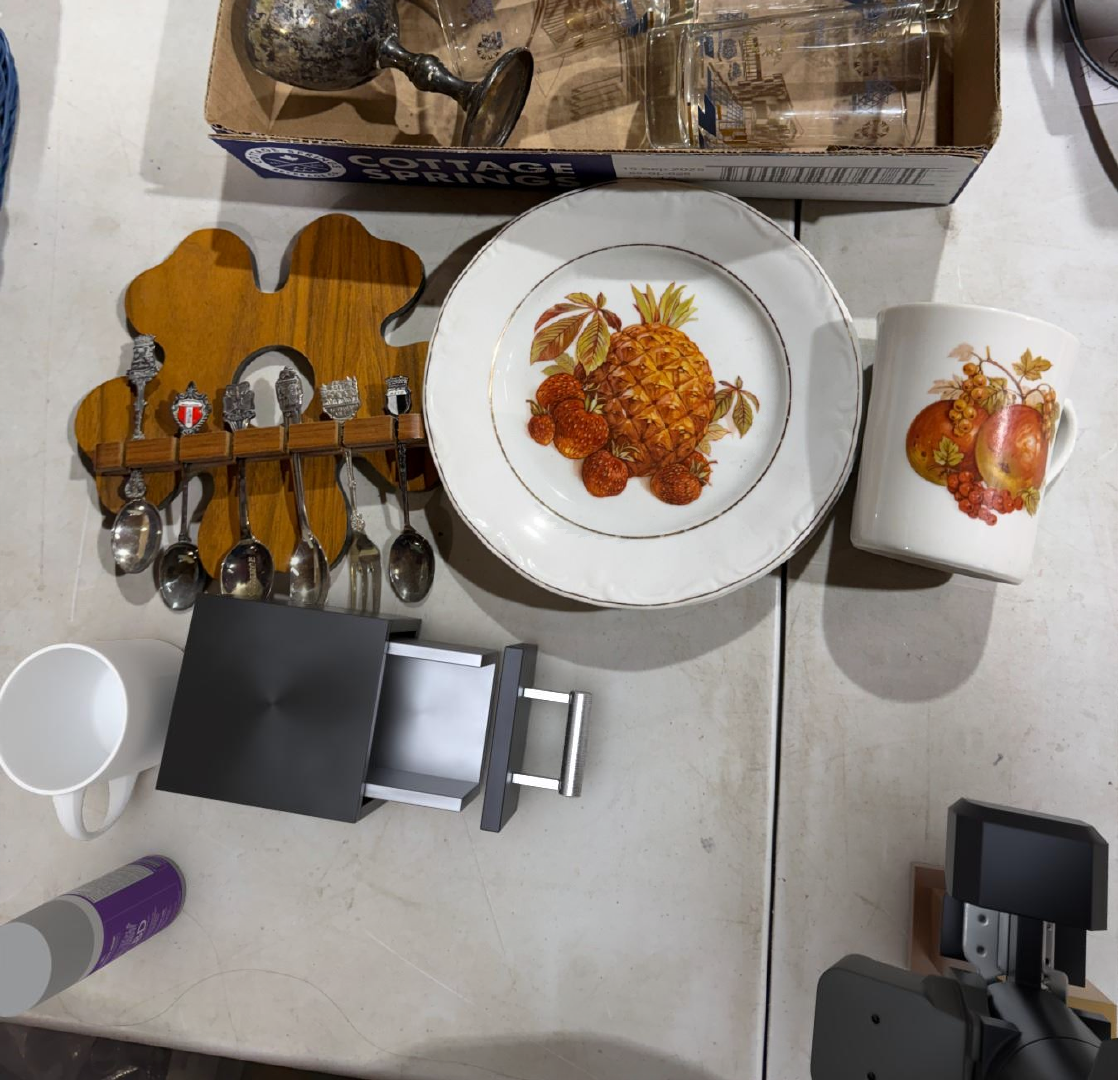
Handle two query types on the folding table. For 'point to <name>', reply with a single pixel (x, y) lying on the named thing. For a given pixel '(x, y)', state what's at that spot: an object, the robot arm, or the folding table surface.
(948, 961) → the stand
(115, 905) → the container
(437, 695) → the drawer with silver handle
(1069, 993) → the block
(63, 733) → the mug
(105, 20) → the folding table surface
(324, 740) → the black drawer box
